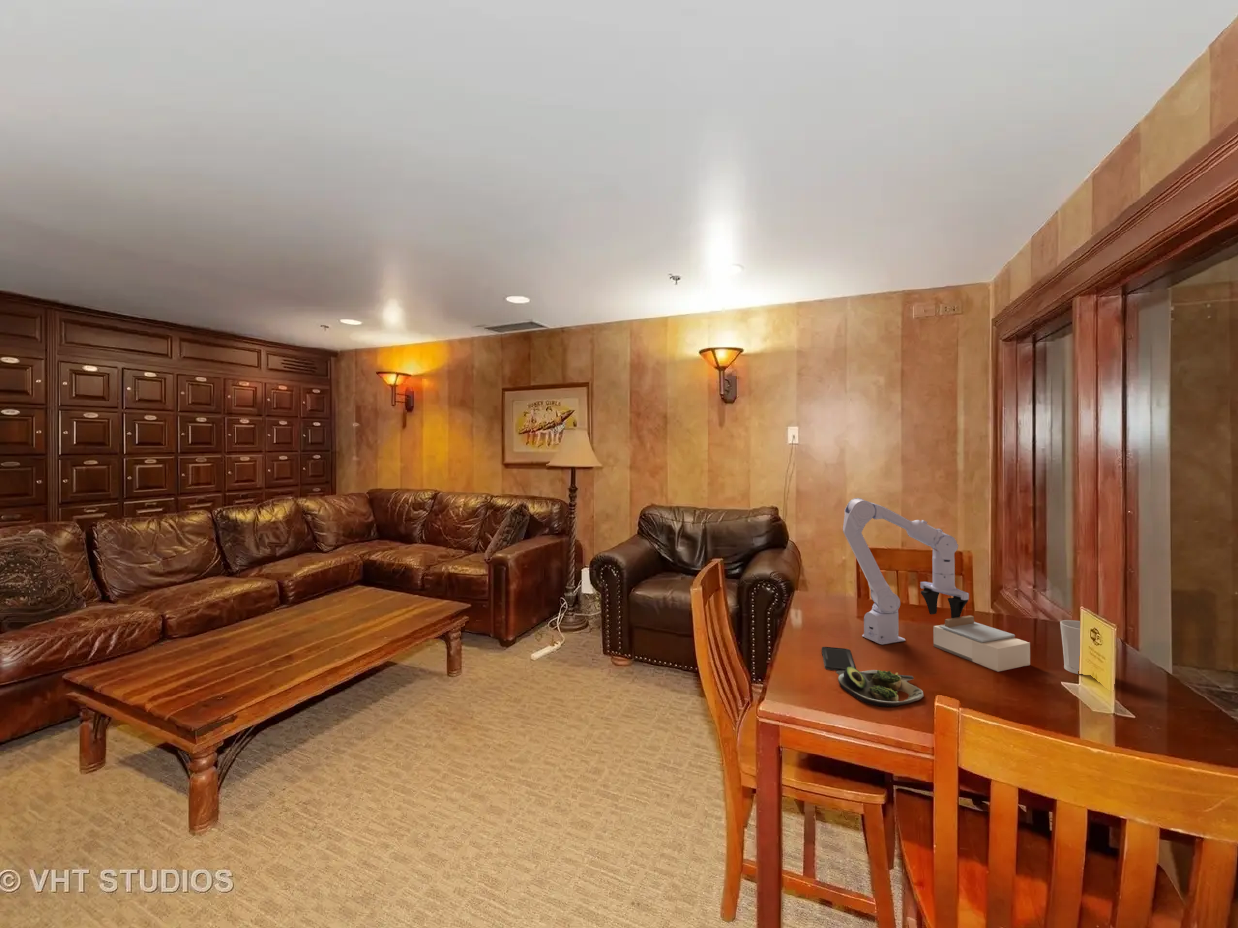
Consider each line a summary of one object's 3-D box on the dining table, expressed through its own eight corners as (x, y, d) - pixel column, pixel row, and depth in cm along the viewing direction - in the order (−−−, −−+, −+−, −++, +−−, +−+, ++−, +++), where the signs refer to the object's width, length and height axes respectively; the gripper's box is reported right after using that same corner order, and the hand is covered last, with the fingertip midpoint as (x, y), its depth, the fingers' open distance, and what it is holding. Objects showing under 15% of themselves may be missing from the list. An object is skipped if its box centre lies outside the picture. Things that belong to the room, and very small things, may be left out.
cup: (1093, 667, 137) (1093, 622, 137) (1106, 679, 130) (1106, 631, 130) (1055, 662, 141) (1055, 618, 141) (1066, 674, 134) (1066, 627, 133)
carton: (997, 671, 136) (997, 648, 136) (933, 646, 154) (933, 626, 154) (1030, 664, 140) (1030, 642, 140) (963, 640, 158) (963, 621, 158)
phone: (849, 648, 152) (856, 669, 137) (849, 652, 152) (856, 673, 137) (821, 646, 154) (824, 666, 140) (821, 649, 154) (824, 670, 140)
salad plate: (889, 670, 139) (889, 653, 139) (945, 701, 122) (945, 682, 121) (825, 679, 135) (825, 661, 134) (874, 712, 117) (873, 692, 117)
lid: (981, 642, 140) (981, 633, 140) (940, 627, 151) (940, 619, 151) (1014, 636, 144) (1014, 627, 143) (971, 622, 155) (971, 614, 155)
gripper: (976, 576, 151) (976, 623, 152) (932, 566, 165) (932, 609, 165) (958, 579, 149) (958, 626, 149) (915, 568, 163) (915, 611, 163)
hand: (943, 617), depth 157 cm, fingers open, 7 cm apart
